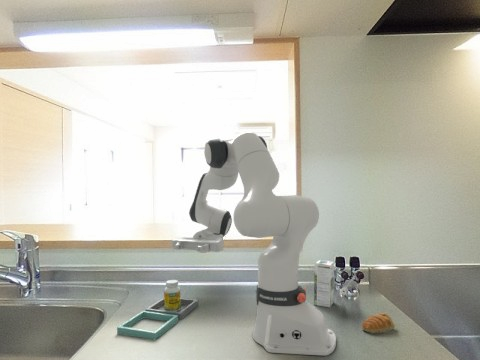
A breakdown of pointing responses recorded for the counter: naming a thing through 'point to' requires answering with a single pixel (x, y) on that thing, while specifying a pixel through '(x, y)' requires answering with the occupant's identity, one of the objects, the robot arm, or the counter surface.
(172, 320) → the bin
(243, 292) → the counter surface
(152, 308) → the bin
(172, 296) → the supplement bottle
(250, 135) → the robot arm
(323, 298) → the syrup box
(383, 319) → the pastry
